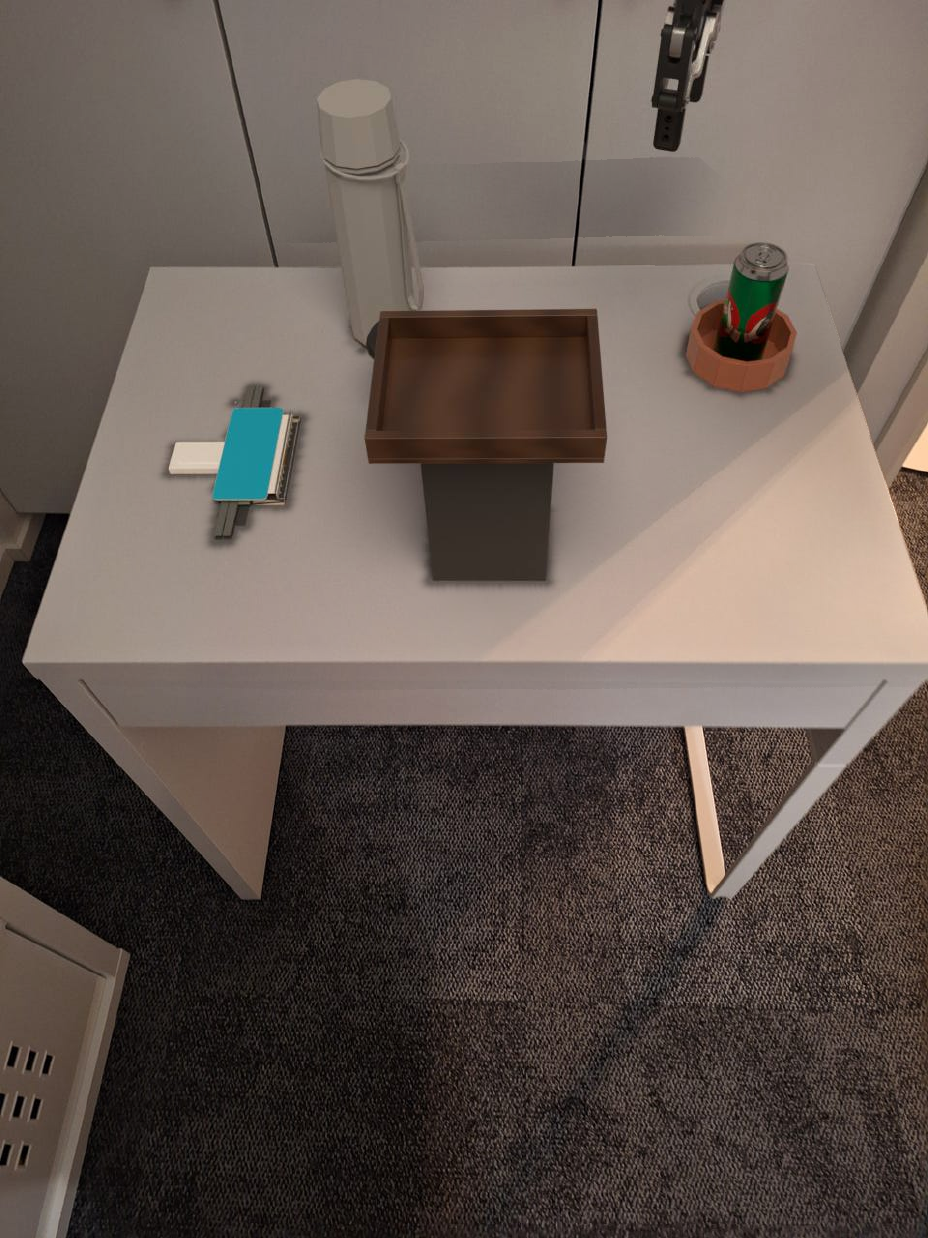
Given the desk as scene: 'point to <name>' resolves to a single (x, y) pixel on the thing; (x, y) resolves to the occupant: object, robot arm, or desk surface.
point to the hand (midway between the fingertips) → (677, 123)
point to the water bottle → (368, 200)
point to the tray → (487, 388)
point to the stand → (488, 520)
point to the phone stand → (245, 460)
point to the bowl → (733, 370)
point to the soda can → (751, 301)
